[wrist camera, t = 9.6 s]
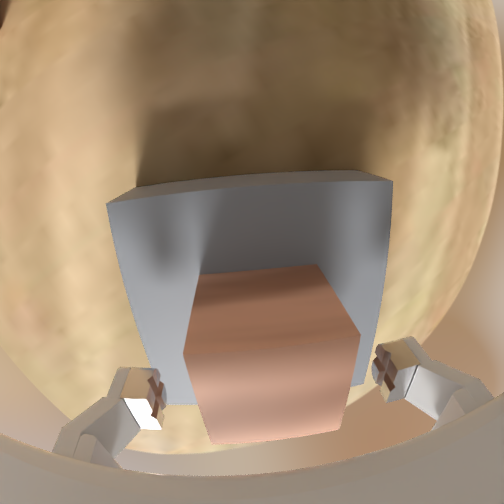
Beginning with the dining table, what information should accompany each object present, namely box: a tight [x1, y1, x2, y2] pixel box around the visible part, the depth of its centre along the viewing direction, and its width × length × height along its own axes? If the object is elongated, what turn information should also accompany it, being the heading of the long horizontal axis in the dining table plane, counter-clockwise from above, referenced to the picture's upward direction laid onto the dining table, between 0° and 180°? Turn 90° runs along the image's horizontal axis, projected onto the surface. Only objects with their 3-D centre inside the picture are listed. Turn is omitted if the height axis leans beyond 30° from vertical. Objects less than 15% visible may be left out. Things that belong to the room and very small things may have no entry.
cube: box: [183, 264, 361, 444], centre depth 11 cm, size 5×5×5 cm
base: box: [106, 170, 393, 405], centre depth 15 cm, size 12×12×4 cm
